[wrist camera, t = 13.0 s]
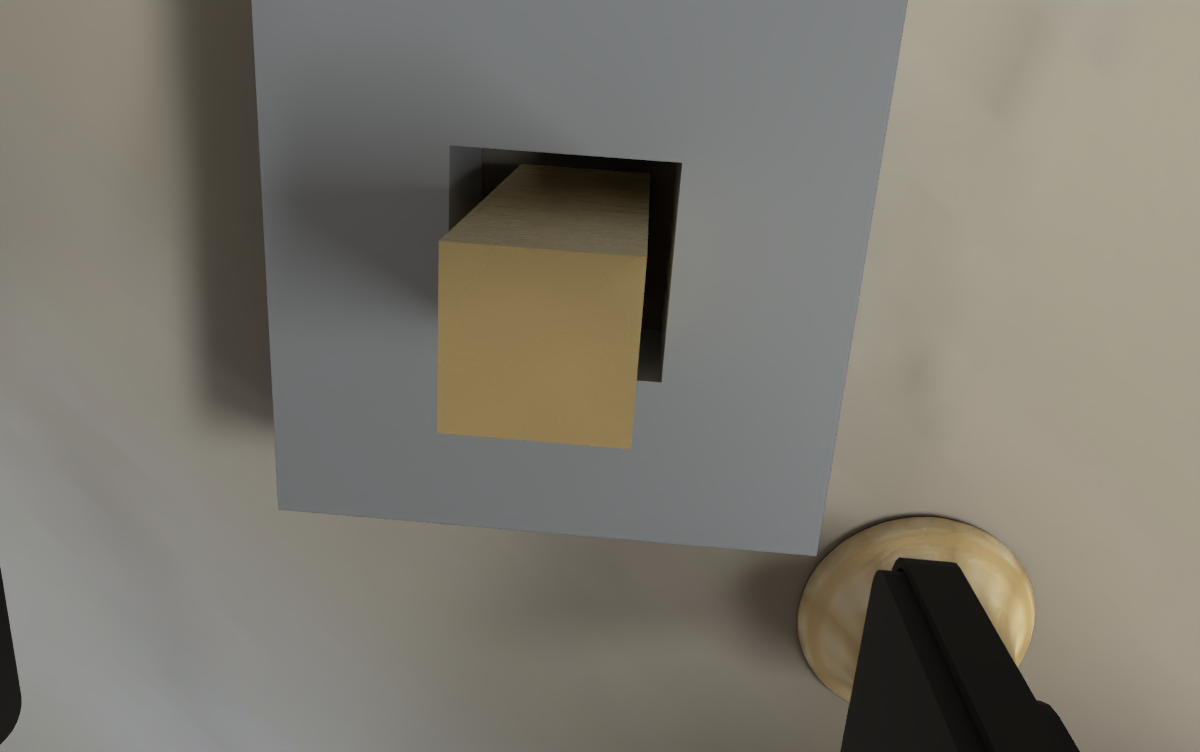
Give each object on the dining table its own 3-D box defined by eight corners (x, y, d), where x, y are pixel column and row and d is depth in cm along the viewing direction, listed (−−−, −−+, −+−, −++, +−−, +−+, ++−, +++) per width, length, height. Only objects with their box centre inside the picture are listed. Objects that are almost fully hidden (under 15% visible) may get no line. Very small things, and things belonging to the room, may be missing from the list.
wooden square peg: (650, 173, 29) (647, 257, 18) (639, 298, 31) (630, 449, 19) (521, 163, 29) (438, 241, 18) (516, 288, 31) (437, 432, 20)
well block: (868, -23, 27) (913, -36, 22) (793, 481, 33) (816, 556, 28) (316, -61, 28) (246, -82, 23) (332, 442, 33) (278, 509, 28)
